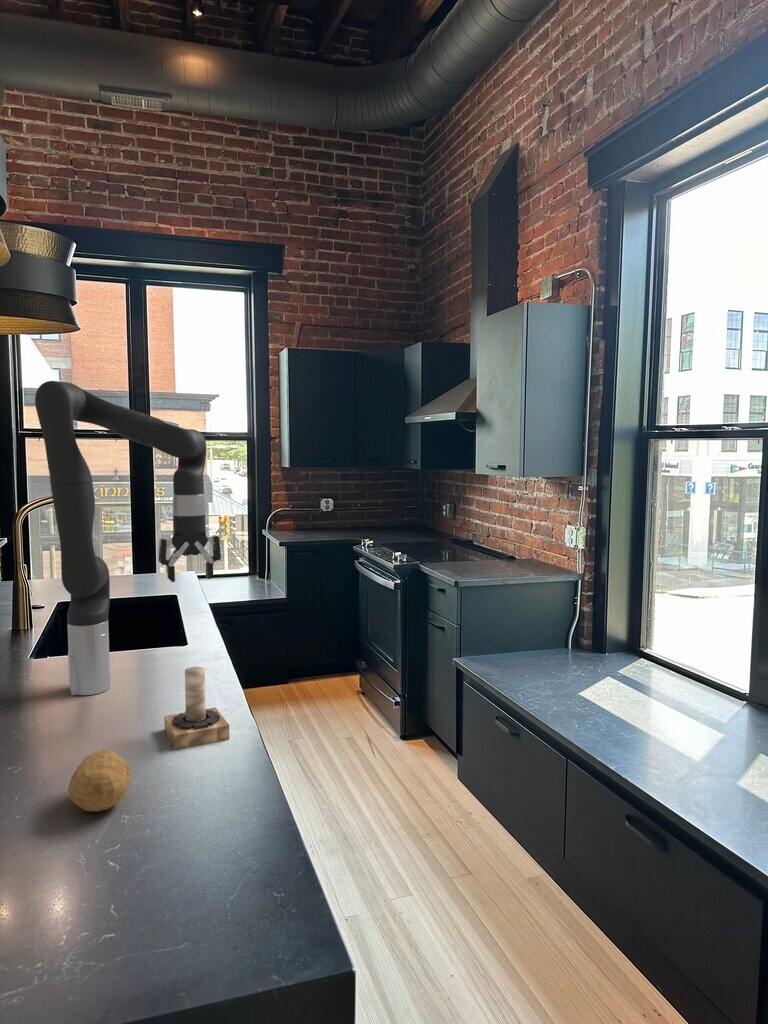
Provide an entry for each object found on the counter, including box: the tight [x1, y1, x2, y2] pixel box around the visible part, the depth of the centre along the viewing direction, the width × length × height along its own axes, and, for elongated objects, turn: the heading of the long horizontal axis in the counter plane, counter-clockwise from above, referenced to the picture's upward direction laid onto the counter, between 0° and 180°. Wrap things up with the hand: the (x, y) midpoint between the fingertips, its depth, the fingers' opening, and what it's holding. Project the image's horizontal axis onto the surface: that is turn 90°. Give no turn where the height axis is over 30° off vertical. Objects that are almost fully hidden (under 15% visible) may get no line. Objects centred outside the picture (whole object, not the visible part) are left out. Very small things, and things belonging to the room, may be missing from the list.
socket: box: [163, 707, 230, 750], centre depth 147 cm, size 11×11×4 cm
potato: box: [67, 749, 132, 813], centre depth 118 cm, size 10×14×8 cm
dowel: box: [184, 666, 206, 723], centre depth 146 cm, size 4×4×14 cm
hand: (190, 579), depth 168 cm, fingers open, 8 cm apart
